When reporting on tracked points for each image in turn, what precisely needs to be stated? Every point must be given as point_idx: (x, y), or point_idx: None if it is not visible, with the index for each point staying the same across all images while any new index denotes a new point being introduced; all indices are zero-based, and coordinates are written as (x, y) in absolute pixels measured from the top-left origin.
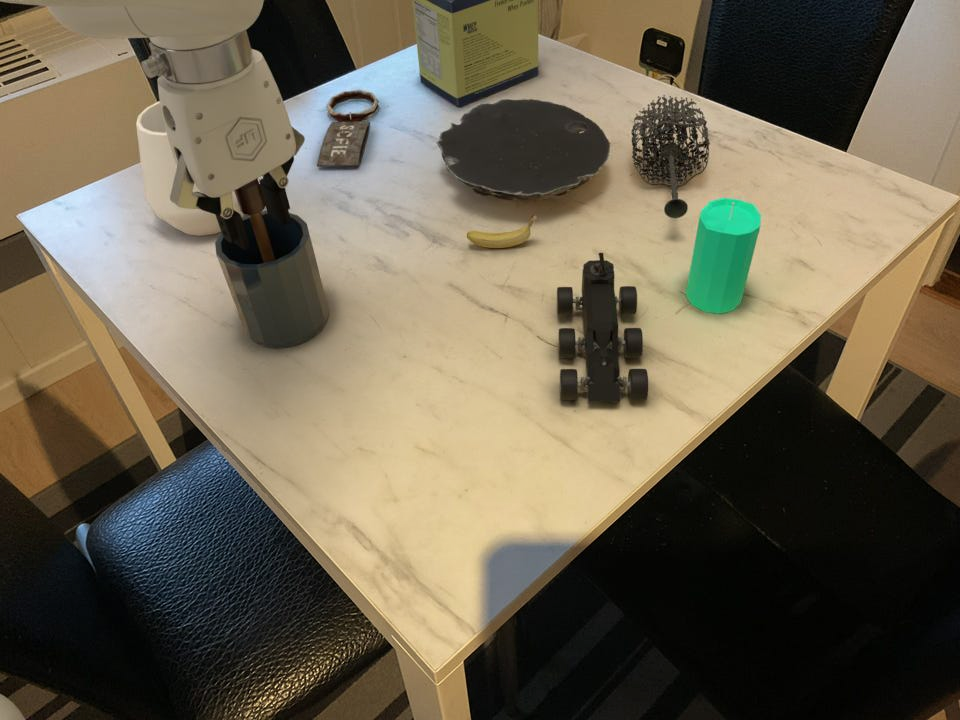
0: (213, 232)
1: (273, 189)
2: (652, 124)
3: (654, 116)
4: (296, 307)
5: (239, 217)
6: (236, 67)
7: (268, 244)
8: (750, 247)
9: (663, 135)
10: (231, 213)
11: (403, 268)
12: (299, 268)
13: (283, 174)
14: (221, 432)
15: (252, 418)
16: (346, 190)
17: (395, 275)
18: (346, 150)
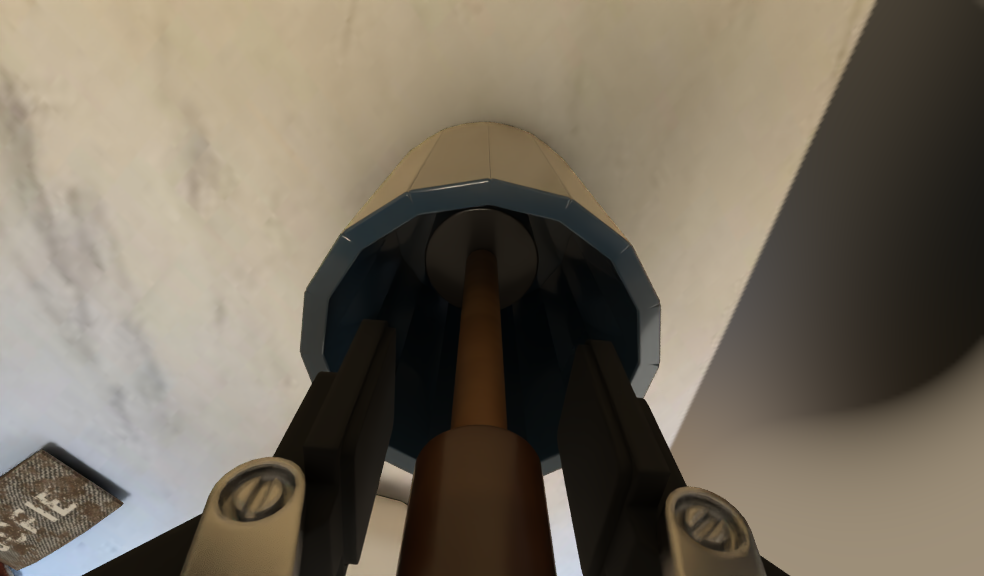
0: (402, 505)
1: (339, 489)
2: None
3: None
4: (521, 144)
5: (639, 456)
6: None
7: (478, 327)
8: None
9: None
10: (677, 504)
11: (159, 108)
12: (476, 162)
13: (211, 541)
14: (837, 73)
15: (775, 41)
16: (114, 415)
17: (194, 106)
18: (34, 496)
